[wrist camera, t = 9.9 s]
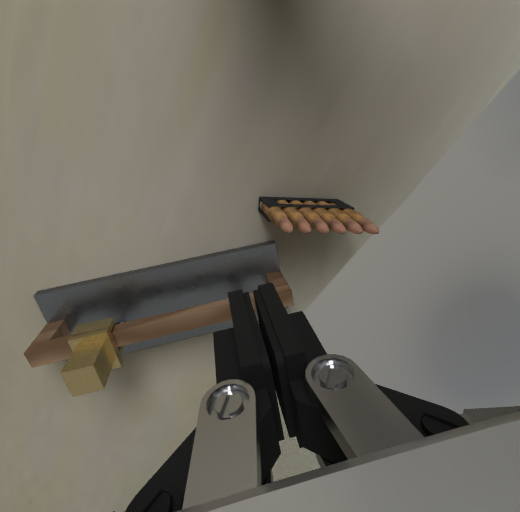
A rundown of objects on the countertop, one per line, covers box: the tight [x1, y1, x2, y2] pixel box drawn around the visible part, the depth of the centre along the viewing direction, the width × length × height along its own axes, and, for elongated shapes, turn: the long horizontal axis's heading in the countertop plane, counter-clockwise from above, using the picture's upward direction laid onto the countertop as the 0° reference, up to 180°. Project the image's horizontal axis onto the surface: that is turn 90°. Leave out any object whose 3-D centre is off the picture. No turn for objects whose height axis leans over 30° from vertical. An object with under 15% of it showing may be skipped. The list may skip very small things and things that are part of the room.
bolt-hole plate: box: [34, 240, 286, 361], centre depth 42 cm, size 11×30×1 cm, turn 99°
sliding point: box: [60, 317, 124, 397], centre depth 35 cm, size 5×4×11 cm
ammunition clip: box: [258, 197, 379, 234], centre depth 35 cm, size 11×2×12 cm, turn 86°
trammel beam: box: [24, 271, 293, 368], centre depth 38 cm, size 4×30×7 cm, turn 99°
